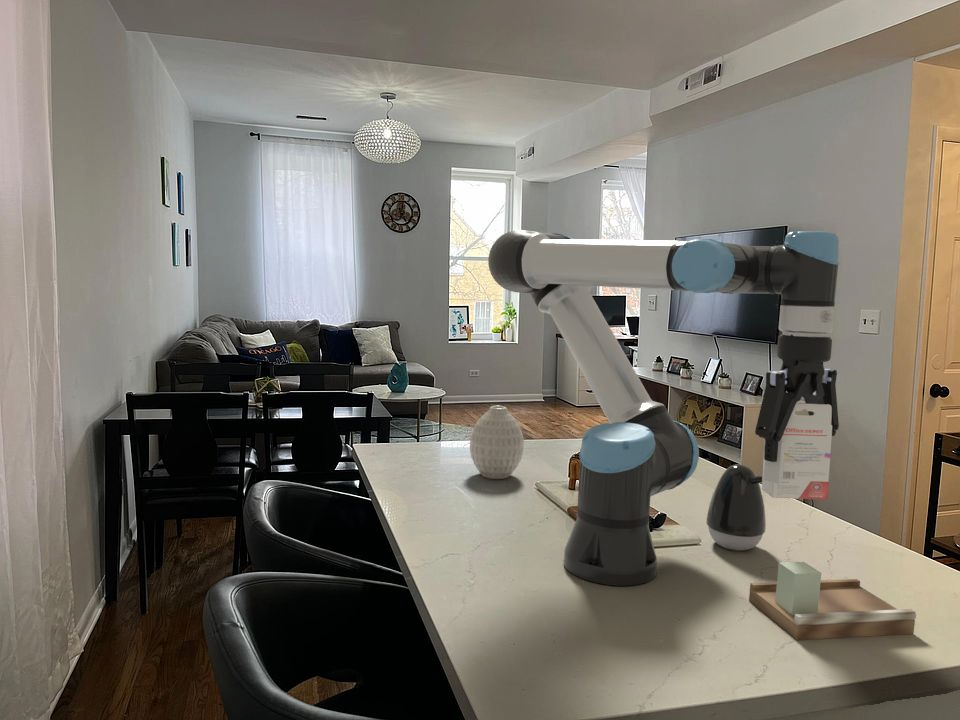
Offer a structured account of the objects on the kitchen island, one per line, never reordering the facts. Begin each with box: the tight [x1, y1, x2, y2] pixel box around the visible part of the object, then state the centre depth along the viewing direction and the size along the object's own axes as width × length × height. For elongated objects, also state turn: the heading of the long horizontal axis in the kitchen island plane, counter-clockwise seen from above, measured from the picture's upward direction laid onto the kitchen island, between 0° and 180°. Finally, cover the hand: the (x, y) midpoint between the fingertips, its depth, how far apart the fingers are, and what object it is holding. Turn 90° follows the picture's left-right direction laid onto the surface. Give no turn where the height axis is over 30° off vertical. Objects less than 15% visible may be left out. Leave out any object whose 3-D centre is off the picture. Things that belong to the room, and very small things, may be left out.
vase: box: [469, 405, 525, 480], centre depth 173 cm, size 13×13×17 cm
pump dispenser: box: [705, 463, 767, 552], centre depth 132 cm, size 10×10×15 cm
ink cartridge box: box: [761, 402, 833, 500], centre depth 113 cm, size 9×5×15 cm, turn 87°
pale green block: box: [775, 561, 822, 615], centre depth 103 cm, size 4×4×6 cm
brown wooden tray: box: [748, 578, 917, 641], centre depth 105 cm, size 18×12×3 cm
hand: (794, 478), depth 113 cm, fingers closed on ink cartridge box, 9 cm apart
